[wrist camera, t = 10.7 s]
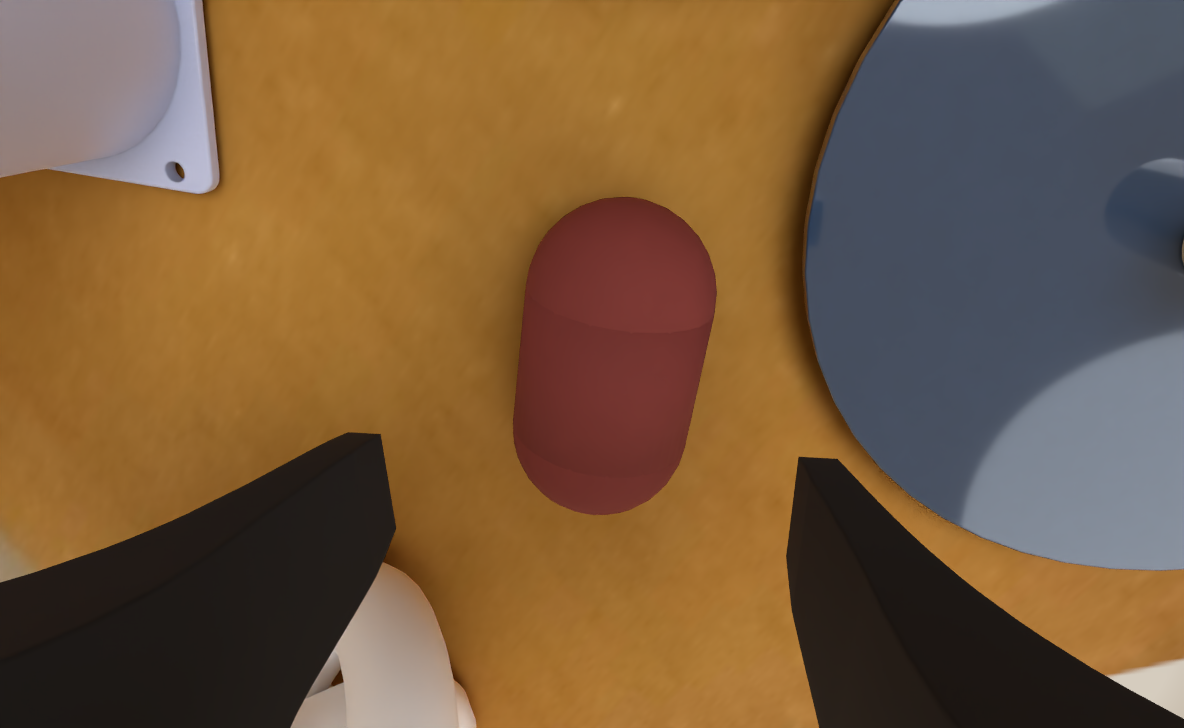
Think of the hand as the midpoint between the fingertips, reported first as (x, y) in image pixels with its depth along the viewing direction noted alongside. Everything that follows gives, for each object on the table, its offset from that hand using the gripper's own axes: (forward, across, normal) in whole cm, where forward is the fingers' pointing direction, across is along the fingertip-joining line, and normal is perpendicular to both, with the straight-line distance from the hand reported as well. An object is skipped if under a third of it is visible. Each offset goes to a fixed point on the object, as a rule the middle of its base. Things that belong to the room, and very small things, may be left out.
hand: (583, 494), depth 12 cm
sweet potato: (+8, 0, 0) cm, 8 cm away
